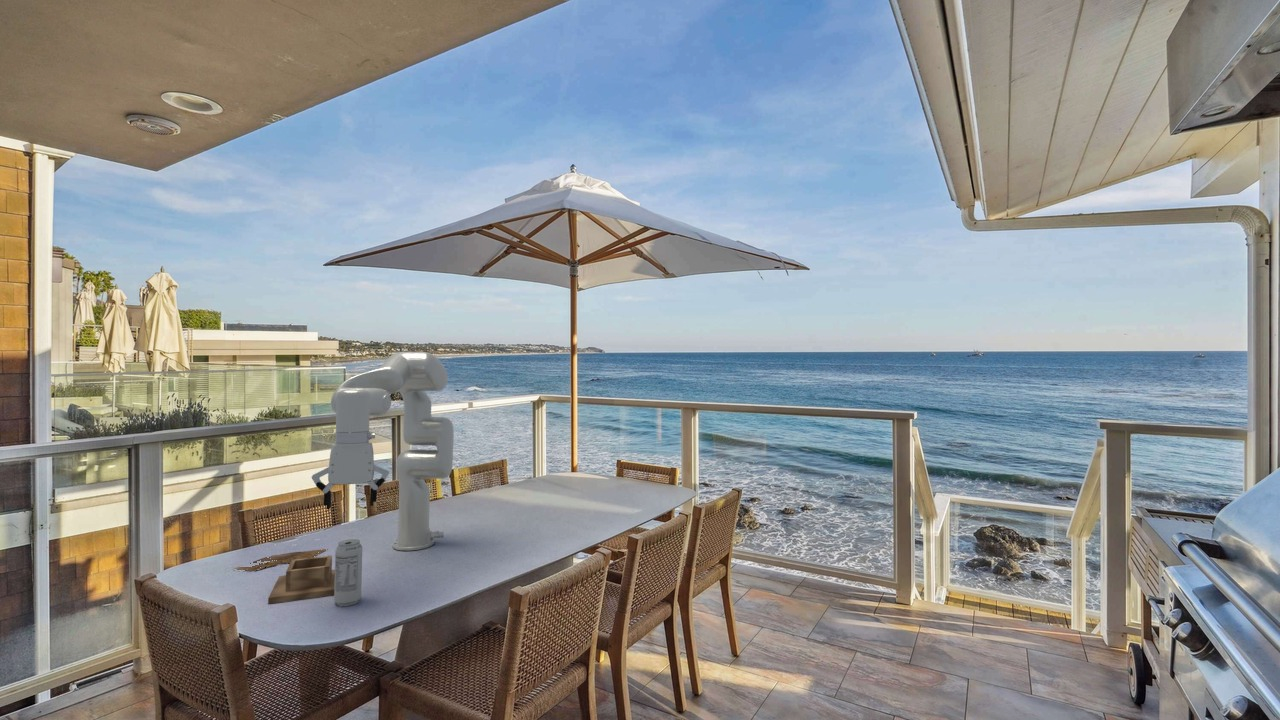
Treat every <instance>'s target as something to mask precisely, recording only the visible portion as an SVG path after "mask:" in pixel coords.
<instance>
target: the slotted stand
mask: <svg viewBox="0 0 1280 720" xmlns="http://www.w3.org/2000/svg"><path fill="white" fill-rule="evenodd" d="M288 564H289V565H288V566H287V569H286V571H285V575H279V576H278V577H277V579H276V582H275V584H274V586H273V587H272V590H271V592H270V594H269V596H268V597H267V599H268V601H267V603H268V605H271V604H279V603H286V602H294V601H293V600H295V601H300V600H299V599H302V600H307V599H308V600H309V599H316V598H323V597H329V596H330V597H331V596H334V588H335V568H334V569H332V567H333V566H332V565H333V555H322V556H315V557H313V558H304V559H295V560H291V562H290V563H288Z"/></svg>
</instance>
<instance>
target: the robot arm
mask: <svg viewBox="0 0 1280 720" xmlns="http://www.w3.org/2000/svg"><path fill="white" fill-rule="evenodd" d="M448 381H449V375H448V371H447V369H446V367H445V366H444V365H443V363H442V362H441V361H440V360H439V359H438V358H437V357H436V356H435V355H434V354H432V353H430V352H426V351H398V352H395V353H393V354H392V355H391V356H389V357H388V358H387V359H386V360H385V361H384V362H383V363H382V364H381V365H379V366H378V368H376V369H372V370H369V371H366V372H363V373H361V374H357V375H354V376H352V377H350V378H348V379H346V380H344V382H341V384H340V385H339V386H338V387H337V388H336V389H335V391H334V392H333V393H332V396H331V399H330V406H331V407H330V408H331V410H332V411H333V412H334V414H335V441H334V442H335V443H332V445H331V449H330V454H329V459H328V466H327V467H326V468H324V469H322V470H319V471H318V472H316V473H313V474H312V476H311V479H312V481H313V483H314V484H315V487H317V489H318V490H320V491H321V492H322V493H323V506H326V510H330V509H331V508H332V491H331V489H332V488H333V487H334V486H342V485H343V486H344V485H358V484H368V486H370V493H369V494H370V495H369V496H370V498H369V506H370V507H373V506H374V503H376V502H377V491H378V489H379V487H381V486H382V485H383V484H384V483H385V481H386V479H387V478H388V476H389V474H390V471H389V470H388V469H386V468H383V467H381V466H378V465H376V464H375V461H374V459H375V454H374V448H373V447H374V446H373V443H372V442H370V440H372V439H376V433H374V432H371V431H370V417H380V416H383V415H385V414H386V413H388V411H389V410H390V409H391V406H392V398H391V395H392V394H395V393H396V392H399V393H400V396H401V397H402V400H403V405H404V406H403V408H404V409H403V425H402V426H403V430H402V432H403V434H402V435H403V441H404V443H405V444H408V445H409V446H427V447H428V446H429V447H430V446H432V447H433V446H435V448H436V449H418V448H417V449H407V450H404V451H402V452H401V453H400V454H399V455H397V458H396V472H397V477H398V523H397V524H398V525H397V527H398V528H397V529H398V530H397V531H398V532H397V533H398V535H397V540H395V541H394V542H393V543H392V549H395V550H397V551H403V552H404V551H405V552H406V551H418V550H423V549H427V548H430V547H431V546H433V545H434V541H435V540H434V539H436V538H437V539H441V538H442V539H443V538H444V533H445V532H444V531H440V530H434V531H432V530H431V529H430V506H431V505H430V501H431V500H430V497H431V496H430V495H431V493H430V492H431V490H430V488H429V486H428V484H427V483H426V481H425V479H431V480H432V479H435V480H436V479H438V480H440V479H441V480H442V479H447V478H448V477H449V476H450V475H451V473H452V471H453V470H452V469H453V463H454V462H453V461H454V459H453V458H454V435H455V433H454V425H453V422H452V421H451V420H450V419H449V418H448V417H443V416H432V401H431V399H430V396H429V395H428V394H427V391H429V392H438V391H439V392H440V391H443V390H444V389H445V388H446V387H447V385H448ZM375 472H376V473H378V474H380V475H381V476H380V478H379V479H378V480H377V481H375V480H374V476H375V475H374V474H375ZM325 475H327V479H328V480H327V481H328V483H327V484H324V482H322V481H321V479H320V478H322V477H324V476H325Z"/></svg>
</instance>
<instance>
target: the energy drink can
mask: <svg viewBox="0 0 1280 720" xmlns="http://www.w3.org/2000/svg"><path fill="white" fill-rule="evenodd" d="M337 544H338V545H337V547H336V548H335V552H334V553H335V555H334V559H335V560H334V569H335V588H334V595H333V598H334V599H333V602H334V603H336V605H337V606H338V607H349V606H353V605H356V604H357V603H358V602H360V601H359V600H360V599H361V597H362V578H363V545H362V544H361V541H360V539H356V538H355V539H354V538H352V539H344V540H340V541H339V542H338V543H337Z"/></svg>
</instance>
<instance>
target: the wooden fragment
mask: <svg viewBox="0 0 1280 720" xmlns="http://www.w3.org/2000/svg"><path fill="white" fill-rule="evenodd" d="M321 549H322V550H321ZM321 549H313V550H306V551H295V552H287V553H280V554H274V555H271V556H264V557H262V558H260V559H257V560H254V561H252V562H253V563H257V561H260V560H261V562H264V561H270V562H267V563H264V564H263V563H261V564H260V563H259V565H255V566H252V567H240V566H237V567H234V568H233V569H237V570H245V571H250V572H251V571H255V572H257V571H256V570H258V569H259V570H258V571H260V570H262V569H267V568H273V567H276V566H279V565H278V564H282V565H285V563H288V564H290V562H291V560H295V559H304V558H313V557H314V556H315V557H318V554H319V555H320V554H321V553H324V552H327V551H329V550H328V549H329V548H321ZM326 549H327V551H326ZM318 552H319V553H318ZM267 557H269V558H267ZM270 558H271V559H270ZM272 560H273V561H272ZM274 560H275V561H274ZM276 560H277V561H276ZM249 563H250V564H251V562H249ZM272 566H273V567H272ZM260 567H261V568H260ZM265 567H266V568H265ZM245 571H244V572H245Z"/></svg>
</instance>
